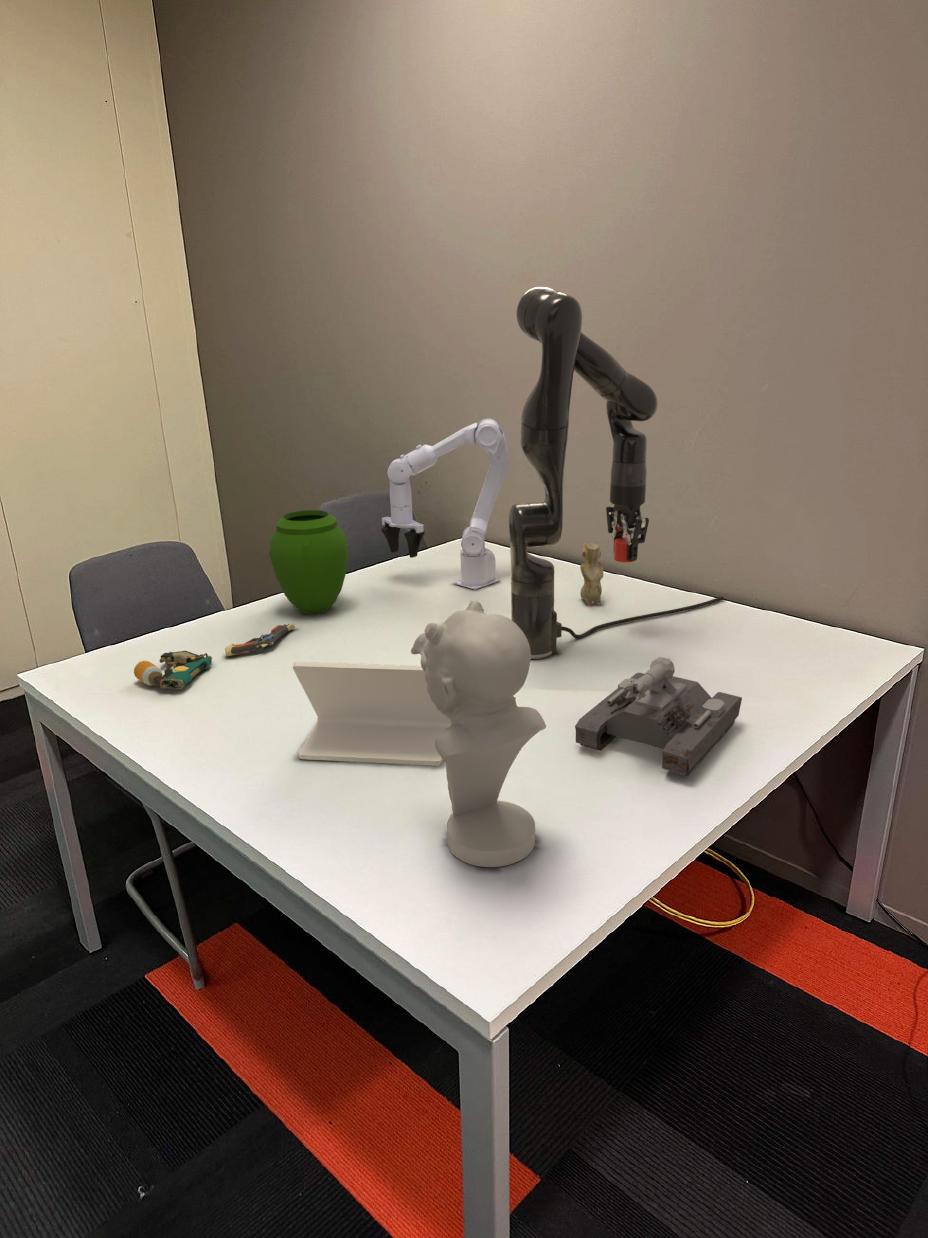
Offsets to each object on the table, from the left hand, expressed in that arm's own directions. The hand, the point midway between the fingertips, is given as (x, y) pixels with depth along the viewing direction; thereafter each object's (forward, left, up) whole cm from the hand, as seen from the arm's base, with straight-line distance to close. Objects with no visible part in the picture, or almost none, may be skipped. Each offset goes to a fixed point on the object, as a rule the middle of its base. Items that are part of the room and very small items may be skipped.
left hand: (403, 554), depth 231 cm
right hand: (-7, +66, +10) cm, 67 cm away
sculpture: (-20, +47, -9) cm, 52 cm away
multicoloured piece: (+73, +8, -9) cm, 74 cm away
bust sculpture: (+72, +93, -9) cm, 118 cm away
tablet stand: (+62, +61, -9) cm, 87 cm away
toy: (+29, +98, -9) cm, 103 cm away
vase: (+28, -3, -9) cm, 30 cm away
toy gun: (+50, +6, -9) cm, 51 cm away
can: (-7, +66, +9) cm, 67 cm away
